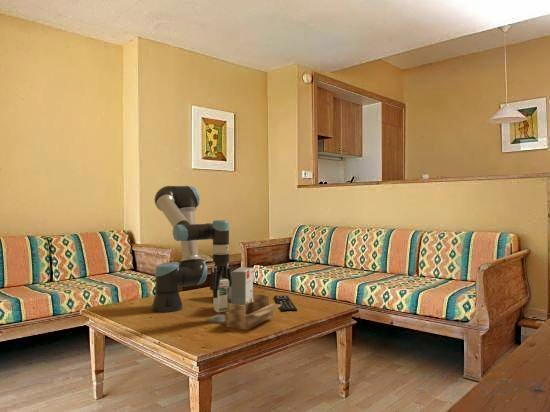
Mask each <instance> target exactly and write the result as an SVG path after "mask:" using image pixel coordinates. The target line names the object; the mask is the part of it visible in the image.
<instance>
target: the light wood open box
mask: <svg viewBox="0 0 550 412" xmlns="http://www.w3.org/2000/svg"><path fill="white" fill-rule="evenodd" d="M280 306H282V305H281V304H277V303H270V295H269V294H262V293H253V302H250V303H247V304H245V305H235V304H231V303H229V311H225V314H224V315H225V324H224V325H225V328H226V327H228V328H234V329H241V330H247V331H248V330H251V329H252V328H254V327H256V326H258V325H260V324H262V323H263V322H265V321H266V322H267V320H269V319H272V317H274V311H275V310H276V309H278V308H280Z"/></svg>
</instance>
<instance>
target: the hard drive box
mask: <svg viewBox="0 0 550 412" xmlns="http://www.w3.org/2000/svg"><path fill="white" fill-rule="evenodd" d="M231 272H232V276H231V277H232V285H231V300H230V304H235V305H245V304H247V303H250V302H254V268H253V267H241V266H240V267H238V268H236V269H234V270H233V271H232V270H231Z"/></svg>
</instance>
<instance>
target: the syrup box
mask: <svg viewBox="0 0 550 412" xmlns="http://www.w3.org/2000/svg"><path fill="white" fill-rule="evenodd" d="M218 290H219V305H213V310H214V311H215V312H217V313H222V312H225V313H226V312H228V311H229V304H230V300H229V280H228V279H220V283H219V287H218Z"/></svg>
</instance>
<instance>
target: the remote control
mask: <svg viewBox="0 0 550 412" xmlns="http://www.w3.org/2000/svg"><path fill="white" fill-rule="evenodd" d="M273 299H274V300H275V302H276V304H281V305H282V306H280V307H279V309H280V311H281V312H282V313H283V312H284V313H286V312H287V311H292V312H298V308H296V306H295V305H294V303H293V301H292V300H291V299H290V297H289V295H287V294H285V295H274V296H273ZM287 313H288V312H287Z"/></svg>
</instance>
